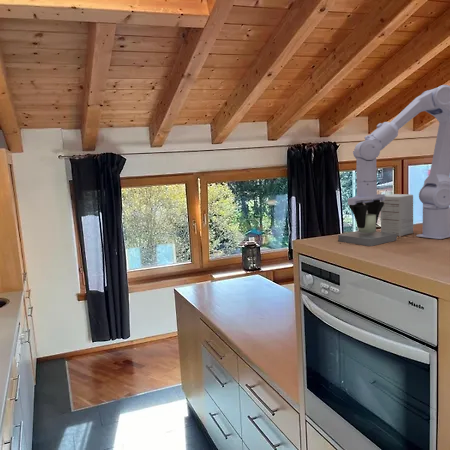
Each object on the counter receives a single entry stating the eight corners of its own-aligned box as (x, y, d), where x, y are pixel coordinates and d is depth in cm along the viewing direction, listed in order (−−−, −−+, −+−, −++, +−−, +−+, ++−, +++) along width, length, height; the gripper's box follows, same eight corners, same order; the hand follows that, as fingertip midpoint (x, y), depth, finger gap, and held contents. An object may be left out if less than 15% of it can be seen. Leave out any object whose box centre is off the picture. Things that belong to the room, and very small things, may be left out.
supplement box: (393, 231, 146) (393, 193, 144) (414, 233, 140) (414, 194, 138) (380, 234, 142) (379, 195, 140) (400, 236, 136) (400, 196, 134)
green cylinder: (365, 229, 134) (365, 213, 134) (379, 231, 130) (379, 214, 129) (355, 231, 132) (354, 215, 131) (368, 233, 127) (368, 216, 127)
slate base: (364, 236, 140) (364, 229, 139) (396, 240, 130) (396, 233, 129) (338, 241, 133) (338, 234, 133) (370, 246, 123) (370, 239, 123)
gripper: (371, 179, 136) (371, 222, 138) (339, 183, 128) (340, 228, 130) (390, 179, 130) (390, 224, 132) (358, 183, 122) (359, 230, 124)
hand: (367, 226), depth 131 cm, fingers closed on green cylinder, 5 cm apart
